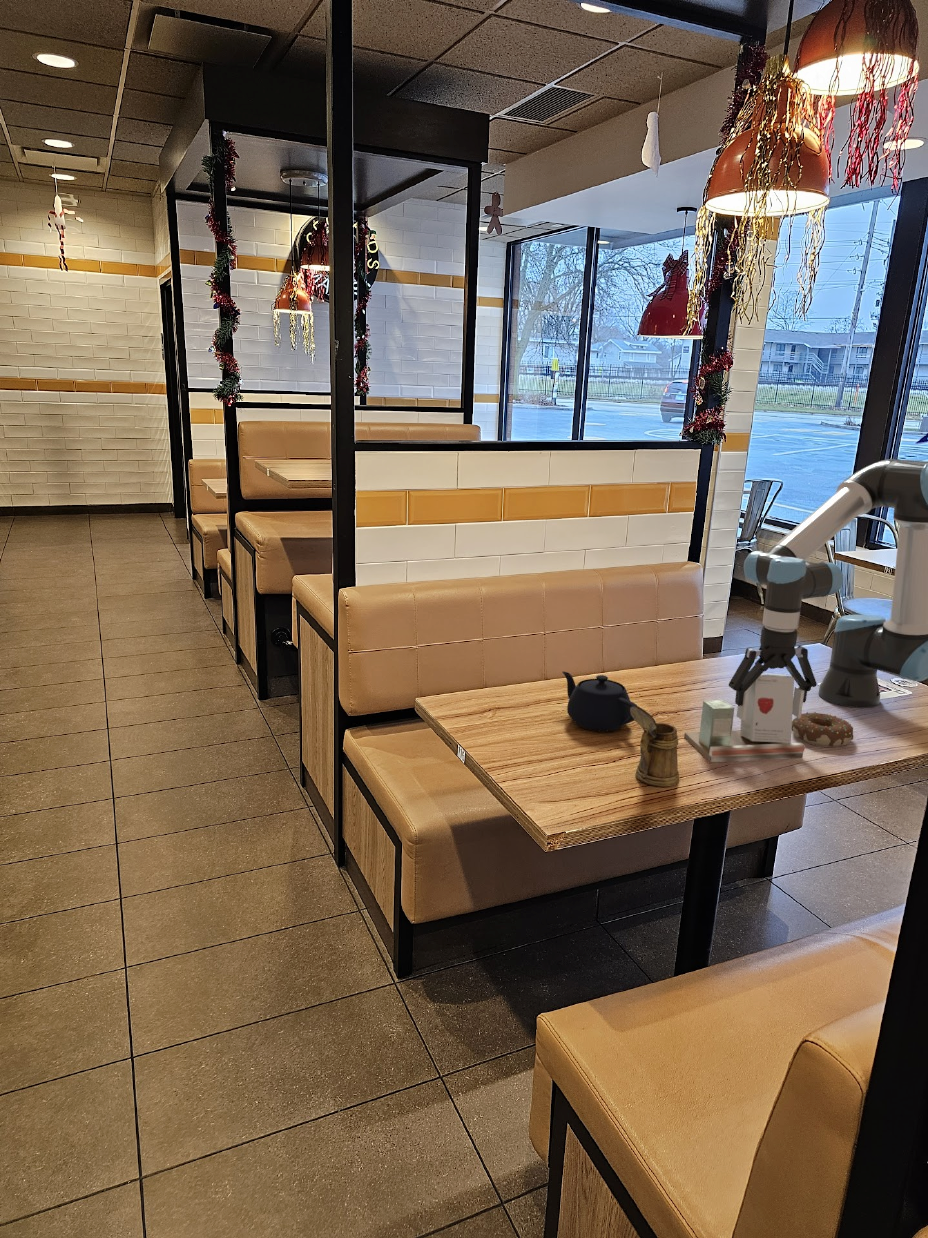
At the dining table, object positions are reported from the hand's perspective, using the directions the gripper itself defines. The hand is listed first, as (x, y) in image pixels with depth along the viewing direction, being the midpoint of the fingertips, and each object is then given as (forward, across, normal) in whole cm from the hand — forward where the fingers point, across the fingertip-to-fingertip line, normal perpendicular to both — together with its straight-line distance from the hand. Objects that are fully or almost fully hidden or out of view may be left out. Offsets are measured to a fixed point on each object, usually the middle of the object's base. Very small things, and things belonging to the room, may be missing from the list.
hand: (768, 717), depth 190 cm
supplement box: (+5, +1, +1) cm, 5 cm away
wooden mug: (+7, +33, +13) cm, 37 cm away
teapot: (+7, +34, -19) cm, 40 cm away
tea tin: (+6, +13, 0) cm, 14 cm away
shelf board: (+7, +5, -1) cm, 9 cm away
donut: (+8, -17, -4) cm, 19 cm away
